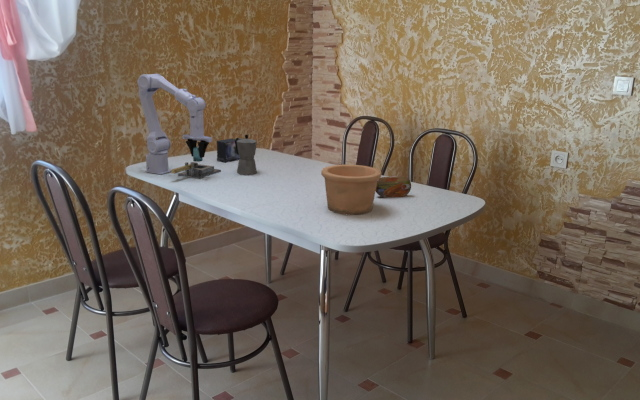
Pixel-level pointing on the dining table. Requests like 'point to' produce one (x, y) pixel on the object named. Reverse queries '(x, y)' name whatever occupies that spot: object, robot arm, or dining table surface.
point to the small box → (227, 150)
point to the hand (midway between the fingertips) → (197, 156)
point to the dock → (199, 171)
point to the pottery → (350, 188)
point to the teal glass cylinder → (196, 154)
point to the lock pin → (184, 168)
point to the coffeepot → (246, 155)
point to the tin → (393, 186)
